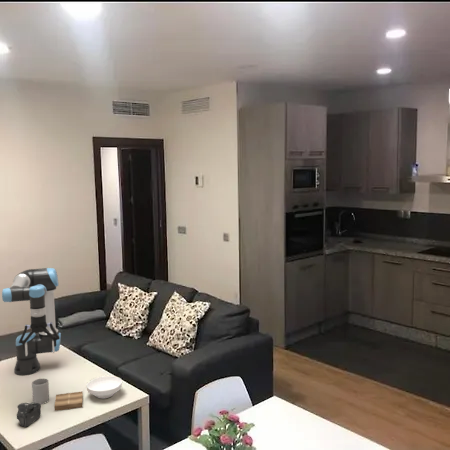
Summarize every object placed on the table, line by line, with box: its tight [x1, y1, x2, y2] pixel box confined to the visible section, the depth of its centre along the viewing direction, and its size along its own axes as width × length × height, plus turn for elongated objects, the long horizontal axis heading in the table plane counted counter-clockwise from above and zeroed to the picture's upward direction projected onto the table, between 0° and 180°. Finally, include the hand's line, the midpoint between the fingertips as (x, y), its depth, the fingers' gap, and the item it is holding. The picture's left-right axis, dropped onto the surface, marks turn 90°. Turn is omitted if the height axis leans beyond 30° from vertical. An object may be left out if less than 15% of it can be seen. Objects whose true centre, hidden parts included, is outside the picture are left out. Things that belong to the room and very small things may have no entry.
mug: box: [31, 378, 50, 405], centre depth 265 cm, size 12×8×11 cm
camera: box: [16, 401, 42, 427], centre depth 242 cm, size 13×10×10 cm
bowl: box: [85, 375, 123, 399], centre depth 270 cm, size 20×20×7 cm
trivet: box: [54, 391, 84, 412], centre depth 261 cm, size 14×14×3 cm
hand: (40, 353), depth 258 cm, fingers open, 13 cm apart
